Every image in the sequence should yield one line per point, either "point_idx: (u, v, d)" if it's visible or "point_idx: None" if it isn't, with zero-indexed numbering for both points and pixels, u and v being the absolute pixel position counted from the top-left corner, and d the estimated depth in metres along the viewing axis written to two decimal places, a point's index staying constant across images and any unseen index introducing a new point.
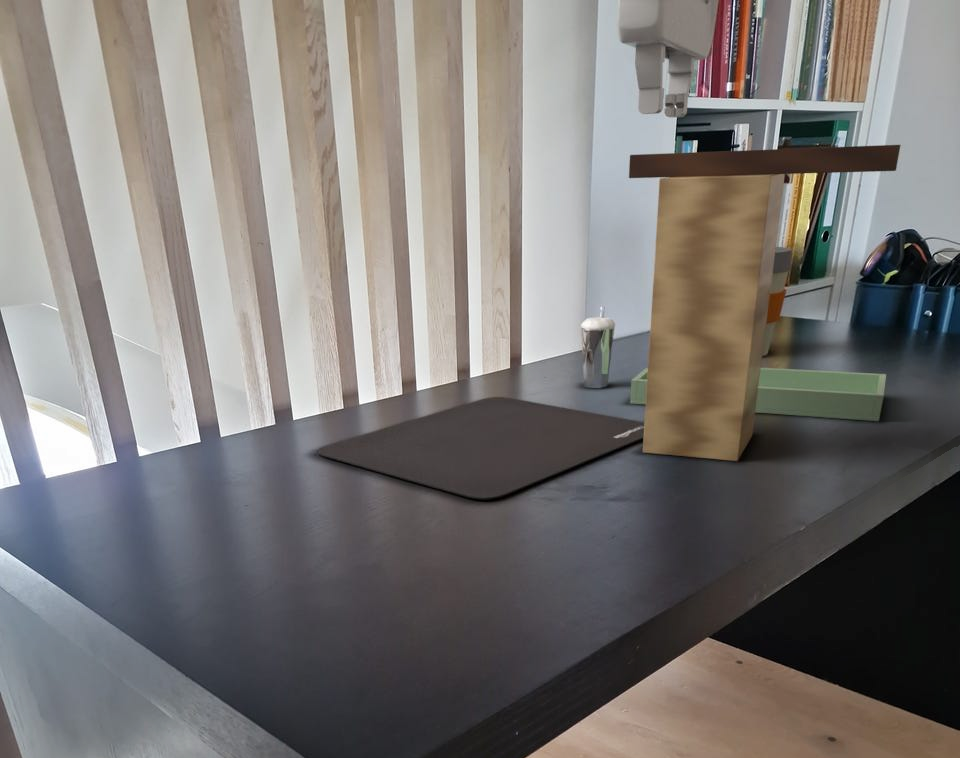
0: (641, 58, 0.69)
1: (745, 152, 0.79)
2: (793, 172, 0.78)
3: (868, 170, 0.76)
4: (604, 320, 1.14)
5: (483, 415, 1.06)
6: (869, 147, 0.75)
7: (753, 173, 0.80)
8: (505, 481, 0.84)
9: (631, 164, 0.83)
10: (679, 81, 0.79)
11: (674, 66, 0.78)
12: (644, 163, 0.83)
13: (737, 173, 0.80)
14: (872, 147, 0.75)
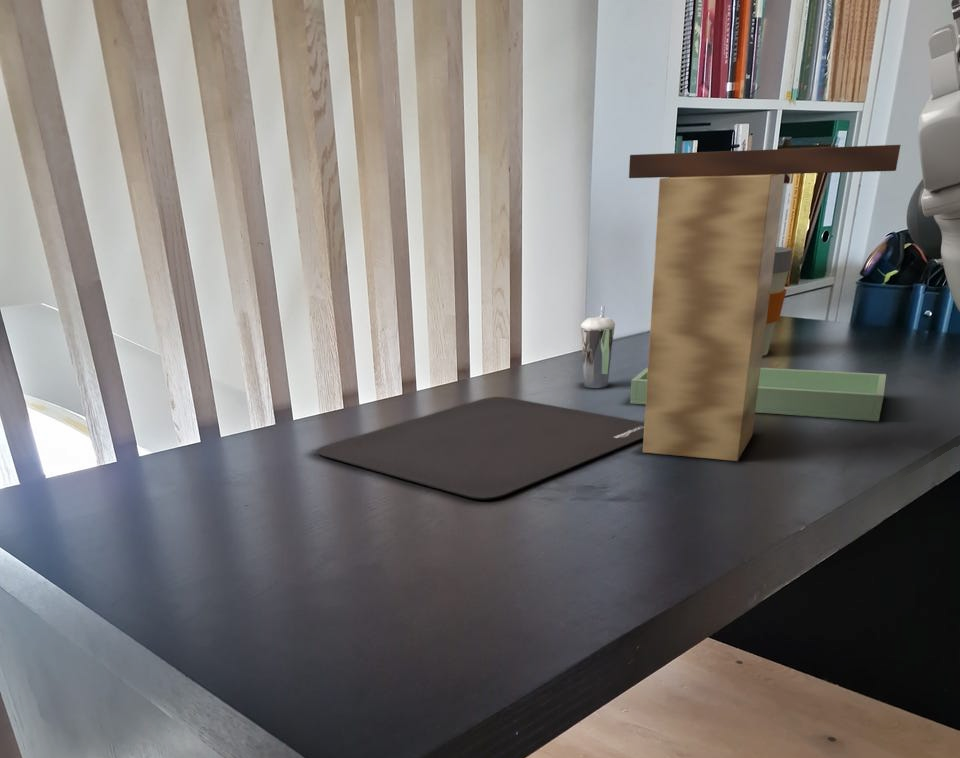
0: None
1: (745, 152, 0.79)
2: (793, 172, 0.78)
3: (868, 170, 0.76)
4: (604, 320, 1.14)
5: (483, 415, 1.06)
6: (869, 147, 0.75)
7: (753, 173, 0.80)
8: (505, 481, 0.84)
9: (631, 164, 0.83)
10: None
11: None
12: (644, 163, 0.83)
13: (737, 173, 0.80)
14: (872, 147, 0.75)
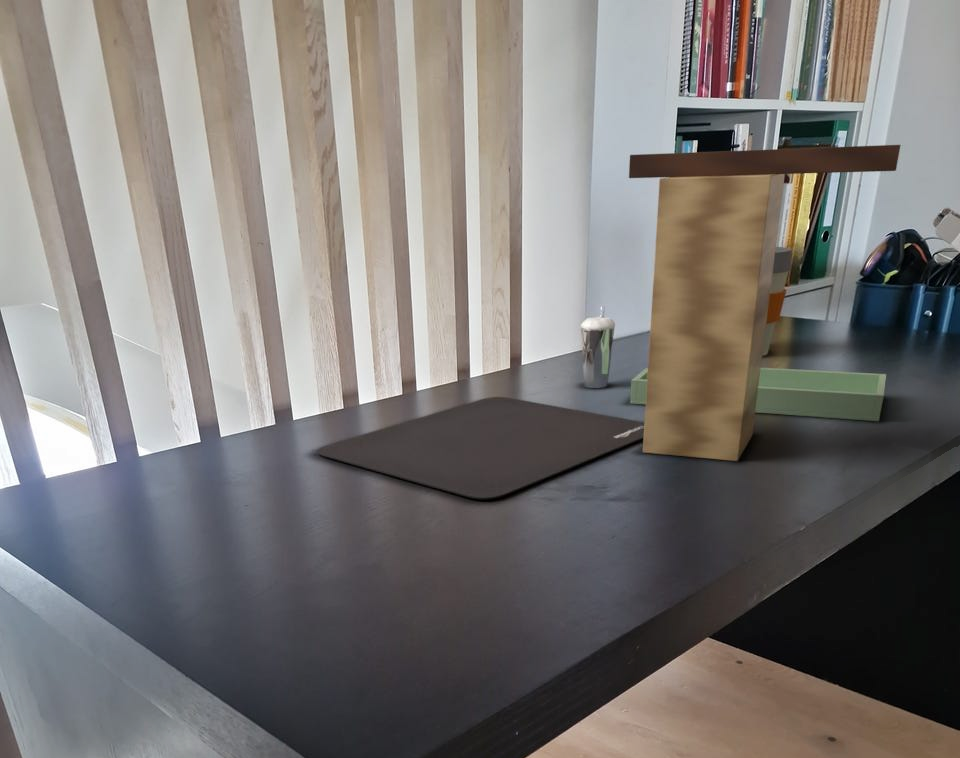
0: None
1: (745, 152, 0.79)
2: (793, 172, 0.78)
3: (868, 170, 0.76)
4: (604, 320, 1.14)
5: (483, 415, 1.06)
6: (869, 147, 0.75)
7: (753, 173, 0.80)
8: (505, 480, 0.84)
9: (631, 164, 0.83)
10: None
11: None
12: (644, 163, 0.83)
13: (737, 173, 0.80)
14: (872, 147, 0.75)
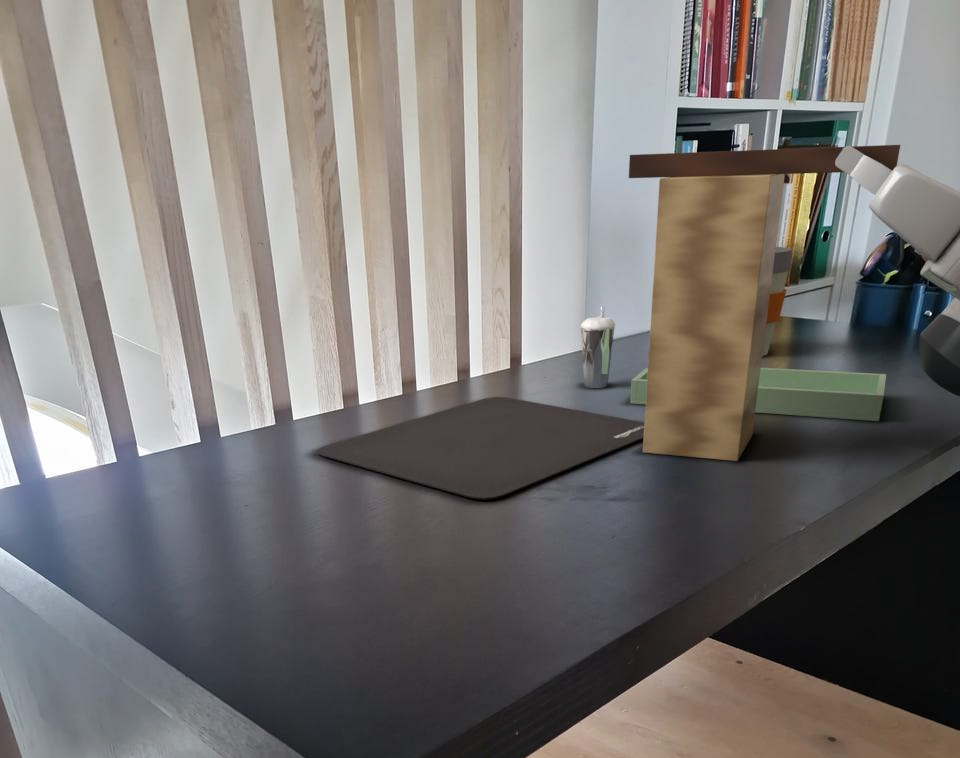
0: None
1: (745, 152, 0.79)
2: (793, 172, 0.78)
3: None
4: (604, 320, 1.14)
5: (483, 415, 1.06)
6: (869, 147, 0.75)
7: (753, 173, 0.80)
8: (505, 481, 0.84)
9: (631, 164, 0.83)
10: None
11: None
12: (644, 163, 0.83)
13: (737, 173, 0.80)
14: (872, 147, 0.75)
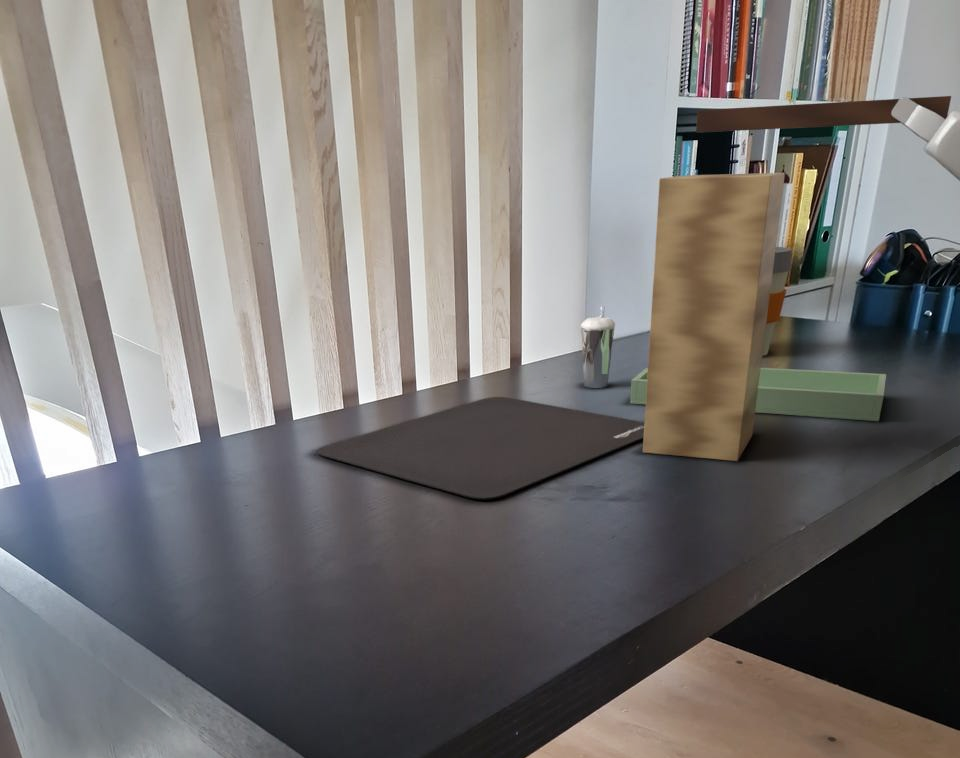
0: None
1: (806, 105, 0.86)
2: (851, 123, 0.86)
3: None
4: (604, 320, 1.14)
5: (483, 415, 1.06)
6: (922, 99, 0.83)
7: (813, 125, 0.87)
8: (505, 481, 0.84)
9: (698, 119, 0.91)
10: None
11: None
12: (711, 118, 0.90)
13: (798, 125, 0.87)
14: (925, 99, 0.82)
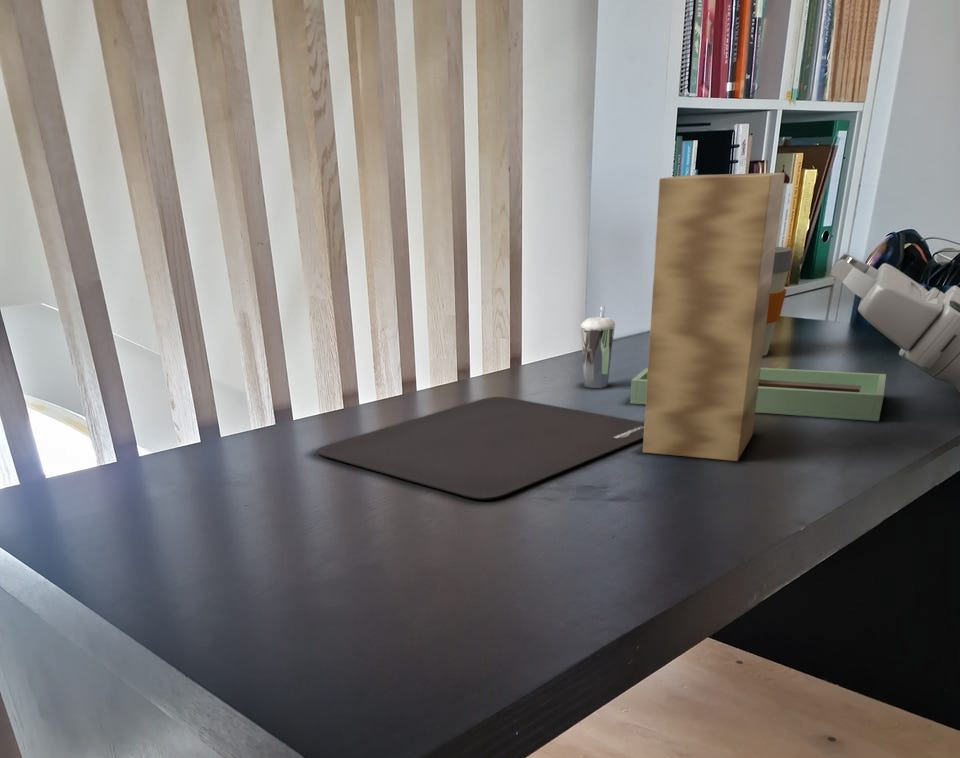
0: None
1: None
2: None
3: None
4: (604, 320, 1.14)
5: (483, 415, 1.06)
6: (837, 389, 1.04)
7: None
8: (505, 481, 0.84)
9: None
10: None
11: None
12: None
13: None
14: (839, 389, 1.04)
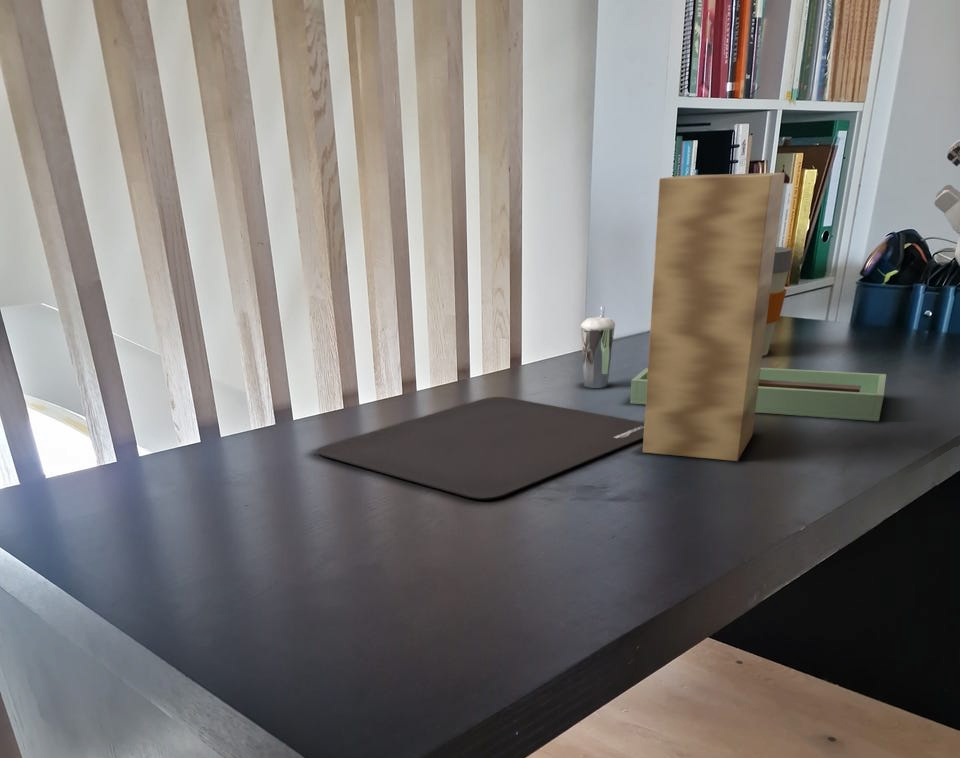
0: None
1: None
2: None
3: None
4: (604, 320, 1.14)
5: (483, 415, 1.06)
6: (837, 389, 1.04)
7: None
8: (505, 481, 0.84)
9: None
10: None
11: None
12: None
13: None
14: (839, 389, 1.04)
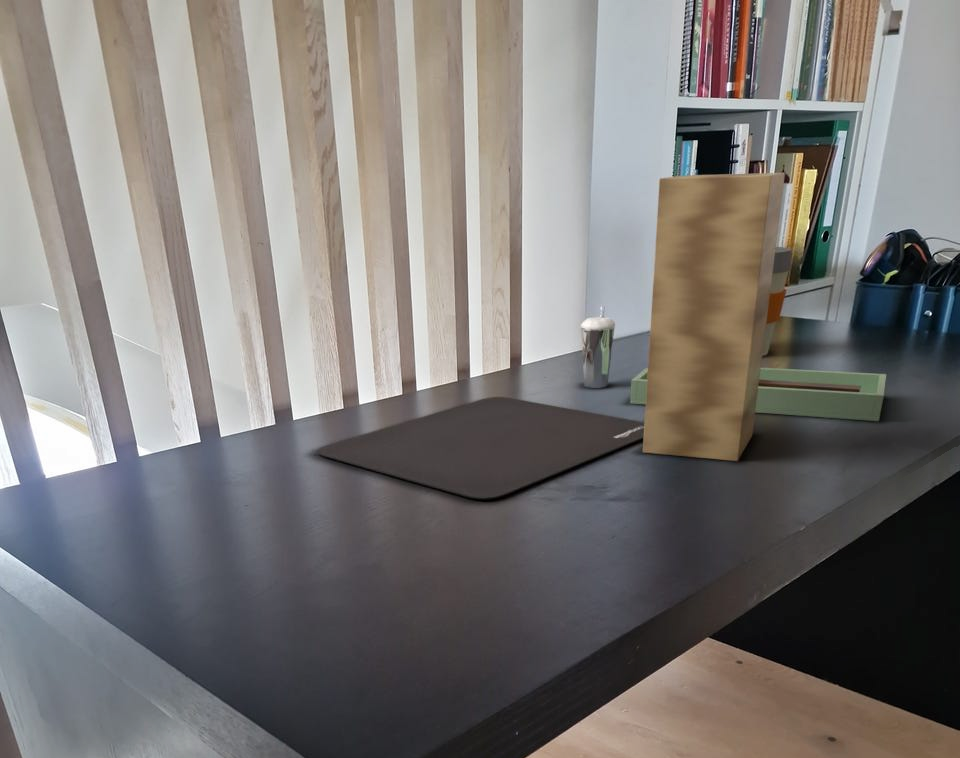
0: None
1: None
2: None
3: None
4: (604, 320, 1.14)
5: (483, 415, 1.06)
6: (837, 389, 1.04)
7: None
8: (505, 481, 0.84)
9: None
10: None
11: None
12: None
13: None
14: (839, 389, 1.04)
